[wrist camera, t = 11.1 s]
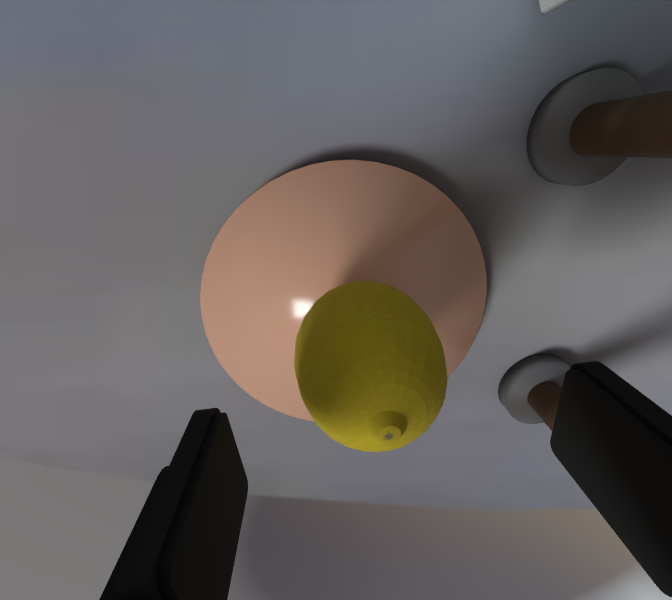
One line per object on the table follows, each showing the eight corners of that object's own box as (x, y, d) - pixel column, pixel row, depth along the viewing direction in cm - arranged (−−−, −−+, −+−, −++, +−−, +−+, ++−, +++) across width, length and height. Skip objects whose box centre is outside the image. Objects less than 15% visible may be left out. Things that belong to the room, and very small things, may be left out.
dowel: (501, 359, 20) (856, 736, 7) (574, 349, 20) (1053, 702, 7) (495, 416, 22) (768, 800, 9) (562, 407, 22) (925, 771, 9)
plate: (168, 179, 14) (159, 181, 14) (487, 141, 15) (499, 141, 14) (240, 425, 20) (237, 438, 19) (469, 393, 21) (477, 404, 20)
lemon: (357, 232, 15) (404, 310, 8) (430, 310, 17) (524, 432, 10) (273, 312, 16) (245, 443, 9) (350, 376, 18) (378, 528, 11)
